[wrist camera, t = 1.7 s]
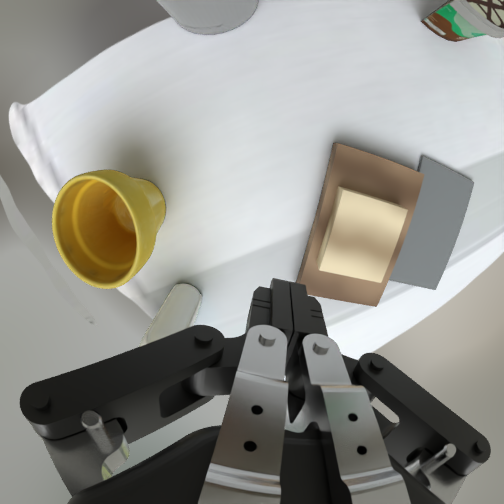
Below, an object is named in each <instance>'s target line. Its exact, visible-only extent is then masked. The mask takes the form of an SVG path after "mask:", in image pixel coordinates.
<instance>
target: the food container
mask: <svg viewBox="0 0 504 504" xmlns="http://www.w3.org/2000/svg"><path fill="white" fill-rule="evenodd" d="M421 22H422V23H423V24H424V25H425V26H426V27H427V28H428V29H430V30H431V31H433V32H434V33H435V34H437V35H438V36H440V37H442V38H444V39H446V40H449V41H454V42H457V41H461V40H465V39H469V38H473V37H478V36H482V35H489V36H491V37H494V38H502V37H504V0H449V1H448V2H446V3H445V4H443V5H442V6H441V7H439V8H438V9H437V10H435V11H434V12H433V13H431V14H430V15H429V16H427V17H426V18H425V19H423V20H422V21H421Z"/></svg>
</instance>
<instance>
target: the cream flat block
mask: <svg viewBox="0 0 504 504" xmlns="http://www.w3.org/2000/svg"><path fill="white" fill-rule="evenodd" d="M407 211H408V210H407V209H405V208H404V207H402V206H400V205H398V204H395V203H392V202H389V201H386V200H383V199H380V198H377V197H373V196H370V195H367V194H364V193H360V192H357V191H353V190H350V189H346V188H343V187H339V186H338V189H337V192H336V196H335V200H334V203H333V207H332V211H331V214H330V218H329V221H328V225H327V228H326V232H325V235H324V238H323V242H322V245H321V248H320V251H319V255H318V258H317V261H316V262H317V265H318V268H319V270H320V271H325V272H330V273H335V274H339V275H344V276H349V277H354V278H359V279H364V280H369V281H374V282H378V283H381V282H382V280H383V277H384V275H385V272H386V270H387V267H388V265H389V262H390V260H391V257H392V255H393V252H394V249H395V247H396V244H397V241H398V238H399V235H400V233H401V230H402V227H403V224H404V221H405V218H406V215H407Z"/></svg>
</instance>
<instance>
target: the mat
mask: <svg viewBox="0 0 504 504" xmlns="http://www.w3.org/2000/svg"><path fill="white" fill-rule="evenodd" d="M418 172H420V173H422V174H425V175H424V178H423V182H422V186H421V190H420V193H419V197H418V200H417V203H416V207H415V210H414V213H413V216H412V219H411V222H410V225H409V228H408V231H407V234H406V237H405V240H404V242H403V245H402V248H401V250H400V253H399V256H398V258H397V261H396V263H395V266H394V268H393V271H392V273H391V276H390V278H389V280H390V281H395V282H400V283H404V284H409V285H414V286H419V287H423V288H428V289H433V290H436V288H437V285H438V283H439V281H440V279H441V277H442V275H443V272H444V270H445V268H446V265H447V263H448V260H449V258H450V256H451V253H452V251H453V248H454V245H455V243H456V240H457V237H458V234H459V232H460V229H461V226H462V223H463V220H464V217H465V213H466V210H467V207H468V203H469V200H470V196H471V193H472V189H473V185H474V182H473V181H471V180H469V179H468V178H466V177H464V176H462V175H460V174H458V173H457V172H455V171H453V170H451V169H449V168H447V167H445V166H443V165H441V164H439V163H437V162H435V161H433V160H431V159H429V158H426V157H424V156H421V159H420V163H419V167H418Z"/></svg>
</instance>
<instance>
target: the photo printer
mask: <svg viewBox="0 0 504 504" xmlns="http://www.w3.org/2000/svg"><path fill="white" fill-rule="evenodd" d="M201 301H202V295H201V294H200V292H199V291H198V290H197V289H196V288H195V287H193V286H192V285H189V284H180V285H178V284H176V285H175V286H174V287H173V289H172V290H171V292H170V293H169V295H168V297H167V298H166V300H165V301H164V303H163V305H162V306H161V308H160V310H159V311H158V313H157V315H156V316H155V318H154V320H153V321H152V323H151V325H150V326H149V328H148V330H147V331H146V333H145V335H144V336H143V338H142V340H141V343H140V346H143V345H146V344H148V343H151V342H153V341H156V340H159V339H161V338H164V337H166V336H169V335H171V334H174V333H176V332H179V331H181V330H184V329H186V328H189V327H191V326H194V323H195V320H196V318H197V315H198V312H199V309H200V306H201ZM140 346H139V347H140Z"/></svg>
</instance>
